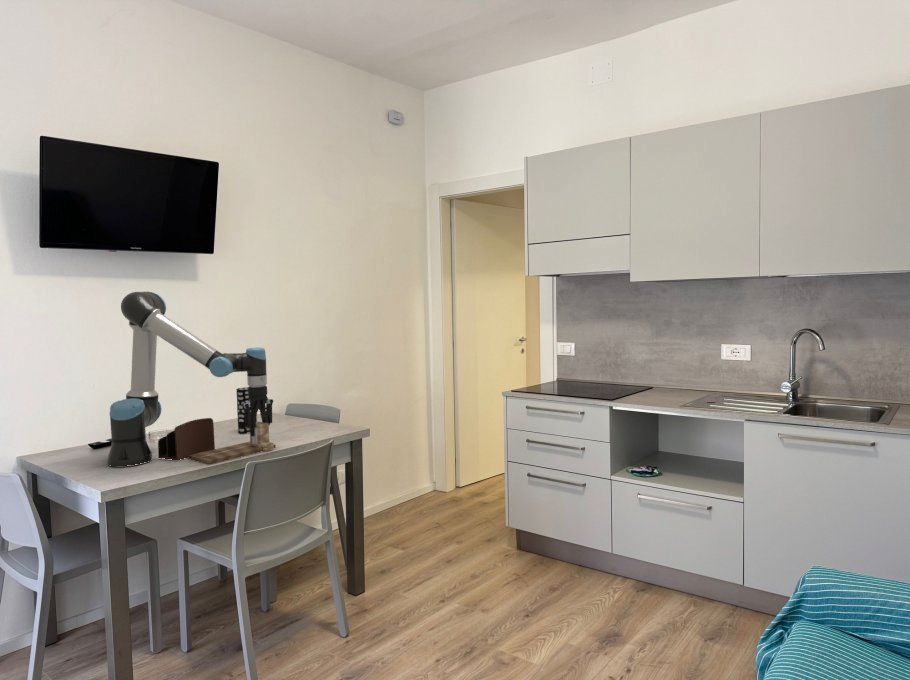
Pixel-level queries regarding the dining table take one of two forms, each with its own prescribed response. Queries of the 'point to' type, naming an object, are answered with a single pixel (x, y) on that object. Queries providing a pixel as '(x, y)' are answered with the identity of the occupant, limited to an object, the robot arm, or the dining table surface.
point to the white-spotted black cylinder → (242, 409)
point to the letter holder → (187, 440)
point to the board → (226, 453)
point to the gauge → (262, 436)
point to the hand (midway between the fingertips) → (259, 442)
